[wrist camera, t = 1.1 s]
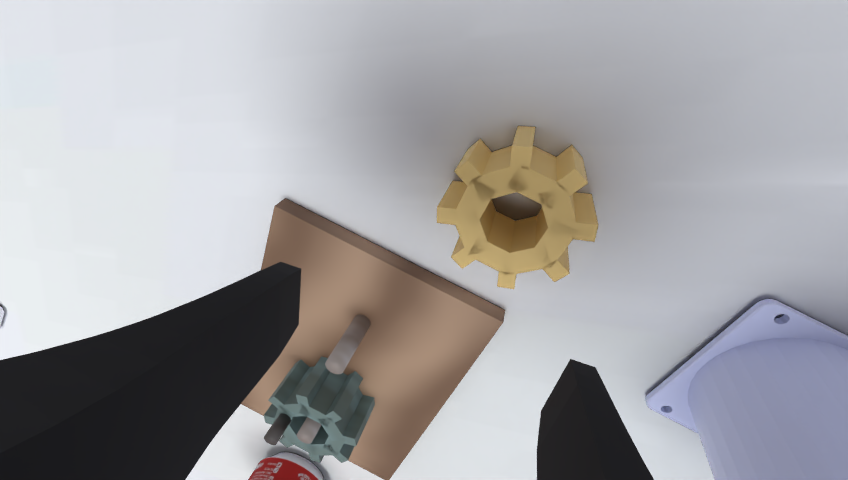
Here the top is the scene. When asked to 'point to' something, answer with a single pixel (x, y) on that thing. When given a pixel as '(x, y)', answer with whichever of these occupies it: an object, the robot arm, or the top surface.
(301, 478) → the beverage can
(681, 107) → the top surface
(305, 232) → the gear board
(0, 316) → the pepper shaker
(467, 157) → the ochre gear
